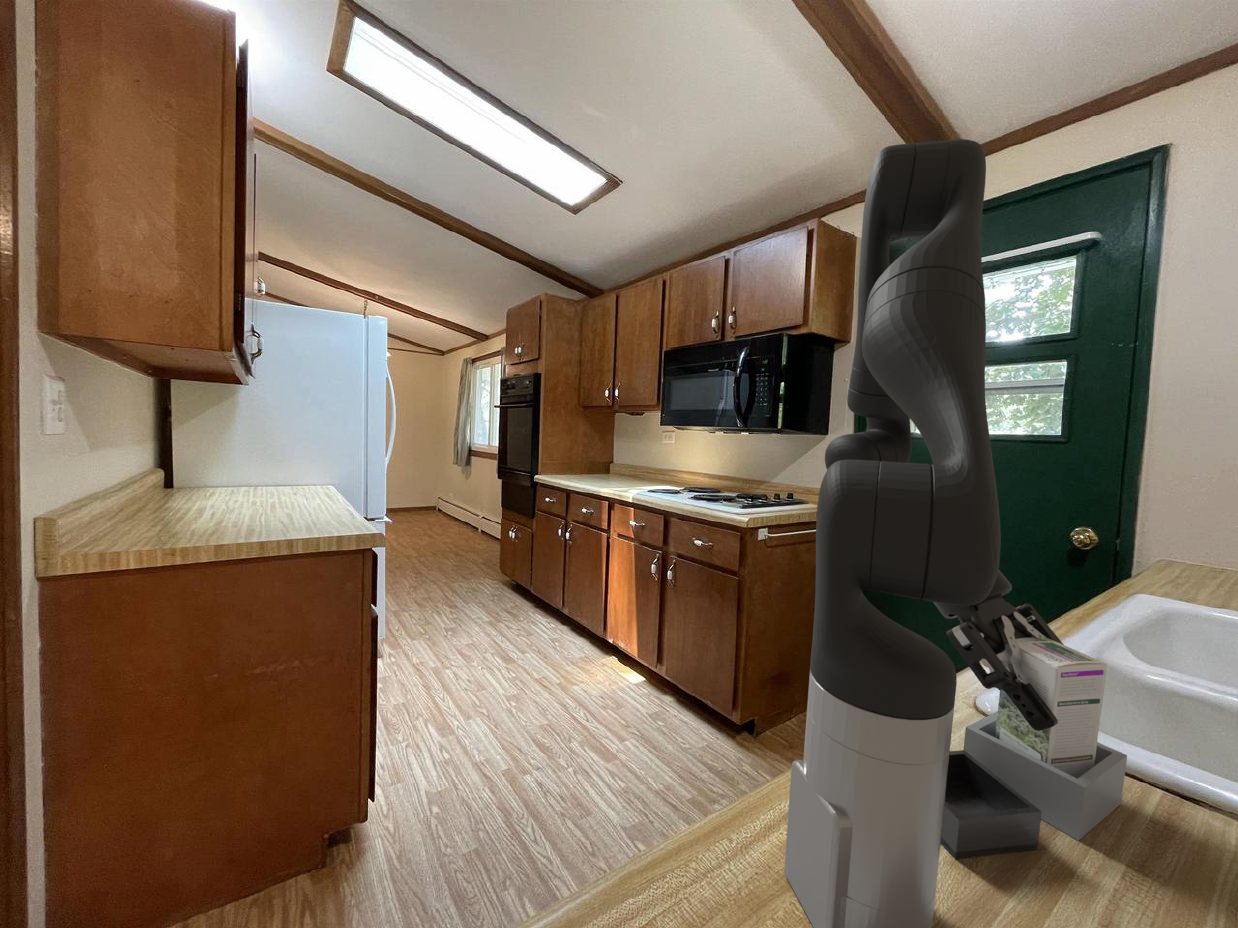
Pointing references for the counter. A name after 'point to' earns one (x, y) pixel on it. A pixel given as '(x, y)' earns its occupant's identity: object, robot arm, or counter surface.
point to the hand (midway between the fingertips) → (1066, 716)
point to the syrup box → (1057, 706)
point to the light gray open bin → (1052, 780)
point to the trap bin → (985, 812)
